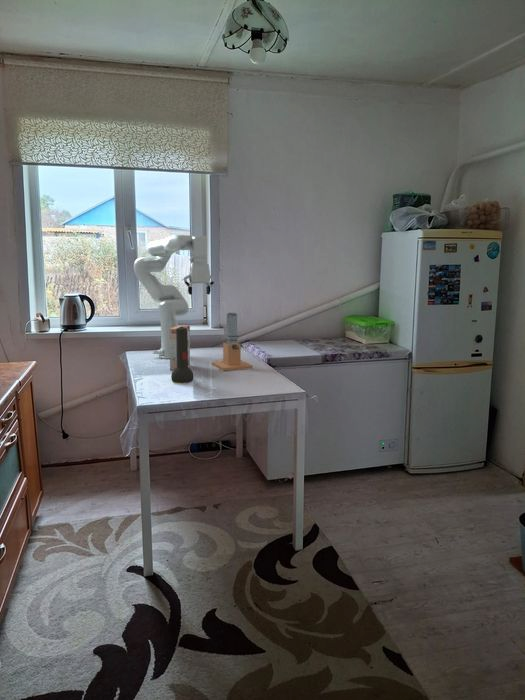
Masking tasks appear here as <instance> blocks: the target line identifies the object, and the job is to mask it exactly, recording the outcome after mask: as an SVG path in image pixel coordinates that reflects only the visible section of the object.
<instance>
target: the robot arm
mask: <svg viewBox="0 0 525 700" xmlns="http://www.w3.org/2000/svg"><path fill="white" fill-rule="evenodd" d="M146 250H147V253H148V254H149V255H150V256H143V257H138V258H137V259H136V260H135V261H134V263H133V271H134V275H135V276H136V278H137V280H138V281H139V282H140V283H141V285H142V286H143V287H144V288H145V290H146V291H147V293H148V294H149V295H150V297H151V298H152V300H153V301H154V302H156V303H157V304H158V303H159V305H158V307H157V308H158V314H159V318H160V320H159V321H160V340H161V341H160V344H161V346H160V348H159V349H158V350H152V355H158V358H160V359H165V360H166V359H167V360H168V359H169V360H170V328H173V327H176V326H179V323H178V320H177V318H176V317H183V316H186V315H187V314H188V312H189V309H190V308H189V304H188V301H187V300H186V298H185V297H184V296H183V295H182V293H181V291H180V290H179V288H177V287H176V286H174V285H172V284H162V283H161V282H160V280H159V278H157V277H156V276H155V275H154V274H153V273H160V272H162V271H164V269H165V268H166V266H167V264H168V263H169V260H170V259H171V258H172V255H174V254H175V253H176V251H191V258H189V261H190V266H189V272H188V273H189V274H188V275H186V276H183V277H182V280H183V282H184V284H185V286H187V293H188V295H193V287H192V286H193V284H206V294H207V295H211V290H212V289H211V288H212V287H213V285H214V284H215V281H216V277H215V276H212V275H211V271H210V265H209V264H210V263H208V238H207V237H206V236H205V235H187V234H178V235H172V236H167V237H166V238H162V239H159V240H154V241H150V242H149V243H148V245H147V246H146ZM187 279H188V280H187Z"/></svg>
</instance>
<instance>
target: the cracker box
mask: <svg viewBox="0 0 525 700" xmlns="http://www.w3.org/2000/svg"><path fill="white" fill-rule="evenodd" d="M181 326H183V327H185V328H187V338H188V367H189V366H190V365H191V362H190V361H191V359H190V358H191V355H190V354H191V351H190V350H191V347H190V346H191V339H190V338H191V329H190V328H191V326H190V325H188V324H187V325H186V324H184V325H183V324H181V325H180V324H178V326H176V327H173V328H170V359H169V370H170V371H173V370H174V369H175V368H176V367H177V352H176V329H177V328H179V327H181Z"/></svg>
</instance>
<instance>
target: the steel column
mask: <svg viewBox="0 0 525 700" xmlns="http://www.w3.org/2000/svg"><path fill="white" fill-rule="evenodd" d="M225 336H226V339H225V340H226V342H225V343H226V344H229V345H230V344H238V343H239V342H238V314H237V312H227V313H226V334H225Z"/></svg>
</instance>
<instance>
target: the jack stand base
mask: <svg viewBox="0 0 525 700" xmlns="http://www.w3.org/2000/svg"><path fill="white" fill-rule="evenodd" d="M237 343H238V344H230V345H229V344H226V342H223V343H222V360H218V361H217V360H216V361H211V366H213V367H214V368H217V369H218V368H219V369H218V370H220V369H221V370H220V371H222V370H223V371H222V372H226V371H225V370H230V371H237V370H236V369H240V370H249V369H248V368H251V369H253V365H252V364H250V363H248V362H246V361H244V360H242V358H241V349H242V348H241V346H242V344H241V343H239V342H237Z"/></svg>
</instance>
